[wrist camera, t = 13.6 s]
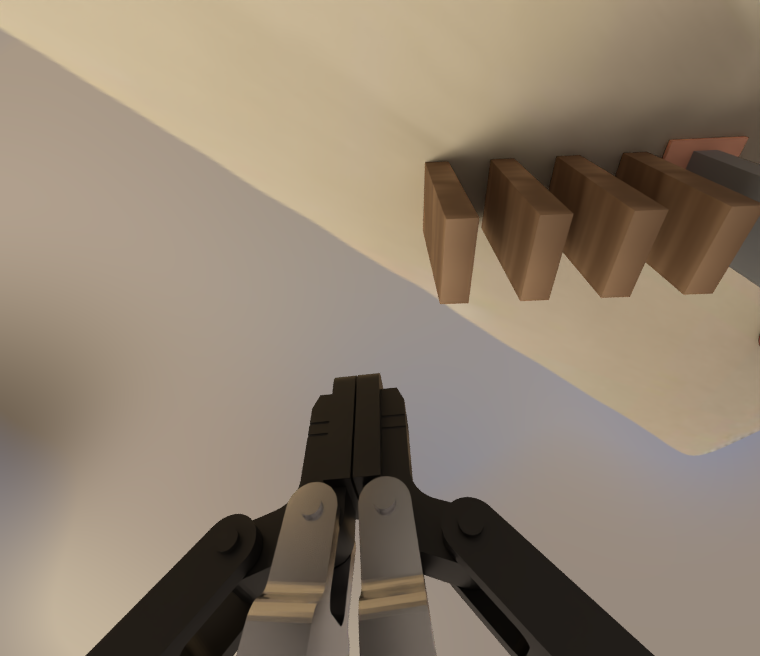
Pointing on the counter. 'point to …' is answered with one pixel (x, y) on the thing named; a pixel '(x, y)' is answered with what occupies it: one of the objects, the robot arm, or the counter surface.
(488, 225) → the domino
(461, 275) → the domino
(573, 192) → the domino
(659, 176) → the domino
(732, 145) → the end pad
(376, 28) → the counter surface
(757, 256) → the domino
